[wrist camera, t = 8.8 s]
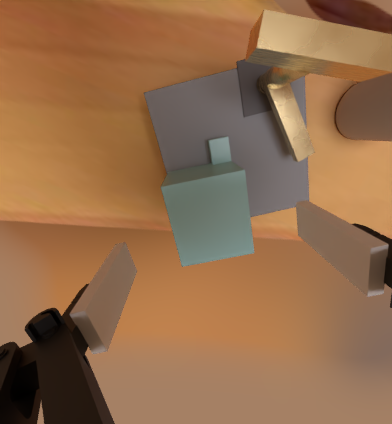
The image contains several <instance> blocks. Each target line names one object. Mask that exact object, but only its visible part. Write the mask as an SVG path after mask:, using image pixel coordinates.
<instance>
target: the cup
mask: <svg viewBox="0 0 392 424" xmlns="http://www.w3.org/2000/svg"><path fill="white" fill-rule="evenodd" d="M336 124H337V127H338V129H339V131H340V133H341V134H342V135H344V136H345V137H347V138H349V139H353V140H373V141H392V73H389V74H386V75H382V76H379V77H375V78H372V79H369V80H365V81H362V82H359V83H357V84H355V85H354V86H352V87H351V88H350V89H349V90H348V91H347V92H346V93H345V95H344V96H343V97H342V99H341V101H340V103H339V105H338V107H337V111H336Z"/></svg>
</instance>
